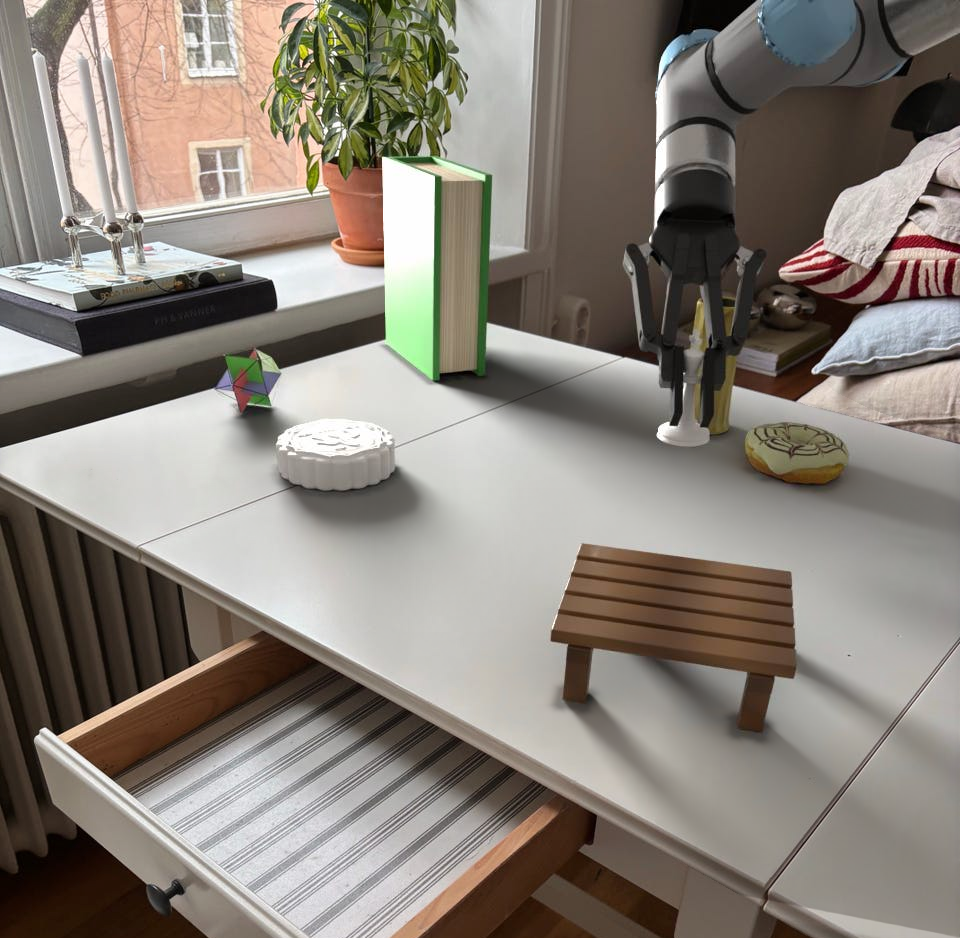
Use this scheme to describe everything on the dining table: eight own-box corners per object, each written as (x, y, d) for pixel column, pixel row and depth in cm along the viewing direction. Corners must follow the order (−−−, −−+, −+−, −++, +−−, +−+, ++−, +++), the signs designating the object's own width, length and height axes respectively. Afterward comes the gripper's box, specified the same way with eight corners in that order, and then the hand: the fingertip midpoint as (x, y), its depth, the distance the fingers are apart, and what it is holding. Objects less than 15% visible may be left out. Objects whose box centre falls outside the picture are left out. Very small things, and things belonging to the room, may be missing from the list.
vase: (698, 413, 120) (717, 292, 112) (739, 428, 116) (761, 303, 108) (665, 423, 116) (682, 299, 109) (706, 439, 112) (727, 311, 105)
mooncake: (304, 501, 95) (302, 466, 93) (261, 458, 104) (258, 425, 102) (415, 478, 100) (415, 445, 98) (365, 439, 109) (364, 408, 107)
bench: (777, 631, 78) (791, 569, 75) (780, 737, 66) (797, 669, 63) (575, 601, 80) (581, 540, 78) (544, 698, 69) (550, 631, 66)
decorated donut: (774, 492, 100) (781, 457, 98) (724, 453, 109) (729, 420, 107) (863, 483, 103) (871, 449, 101) (807, 445, 112) (814, 413, 110)
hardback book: (484, 375, 130) (492, 174, 117) (432, 380, 127) (434, 176, 114) (434, 339, 143) (435, 155, 130) (385, 343, 141) (382, 156, 128)
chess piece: (670, 448, 91) (684, 339, 86) (648, 430, 95) (659, 325, 90) (718, 444, 92) (734, 335, 87) (694, 426, 96) (708, 321, 91)
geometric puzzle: (255, 407, 110) (270, 338, 111) (199, 400, 112) (214, 332, 112) (280, 427, 117) (293, 362, 118) (227, 420, 119) (241, 356, 119)
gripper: (764, 220, 97) (765, 441, 92) (610, 214, 98) (602, 434, 93) (785, 167, 90) (787, 405, 85) (619, 161, 91) (611, 397, 85)
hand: (691, 419), depth 89 cm, fingers closed on chess piece, 2 cm apart
